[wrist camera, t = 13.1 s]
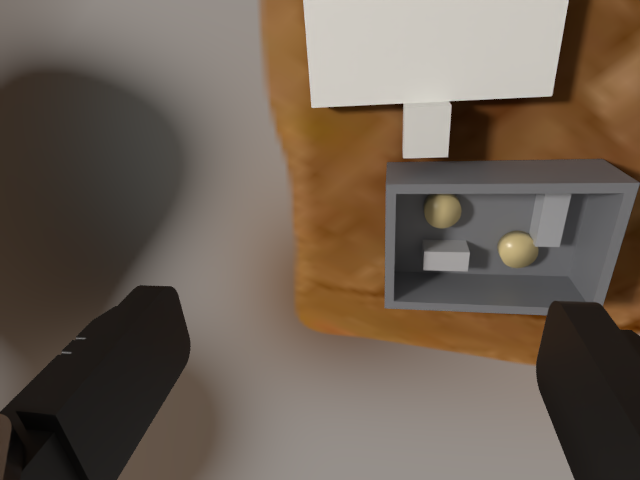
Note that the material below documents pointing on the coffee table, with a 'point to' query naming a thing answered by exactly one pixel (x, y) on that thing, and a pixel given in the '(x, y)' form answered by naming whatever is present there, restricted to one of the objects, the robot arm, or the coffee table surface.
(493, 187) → the tub
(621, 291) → the coffee table surface
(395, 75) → the lid
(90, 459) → the robot arm
